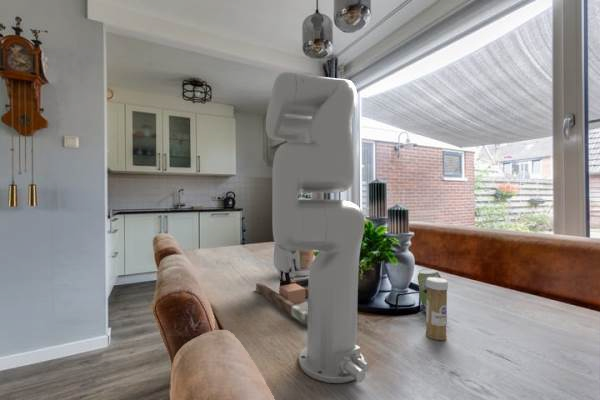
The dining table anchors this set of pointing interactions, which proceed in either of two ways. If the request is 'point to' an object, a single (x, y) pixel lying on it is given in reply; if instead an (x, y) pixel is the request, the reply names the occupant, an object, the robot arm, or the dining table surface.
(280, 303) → the trap lane
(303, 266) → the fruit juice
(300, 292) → the block
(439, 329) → the sprinkles bottle
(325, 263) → the robot arm
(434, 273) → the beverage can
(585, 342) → the dining table surface
